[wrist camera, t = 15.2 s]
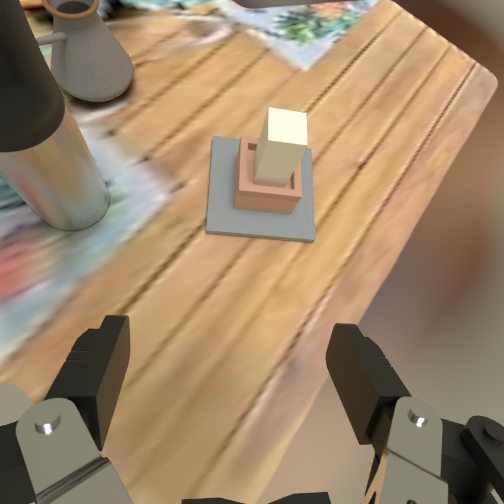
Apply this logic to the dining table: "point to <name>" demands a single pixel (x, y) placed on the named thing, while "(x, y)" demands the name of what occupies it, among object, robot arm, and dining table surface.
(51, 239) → the dining table surface
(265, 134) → the tall brick
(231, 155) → the tower base
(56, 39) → the coffee pot
